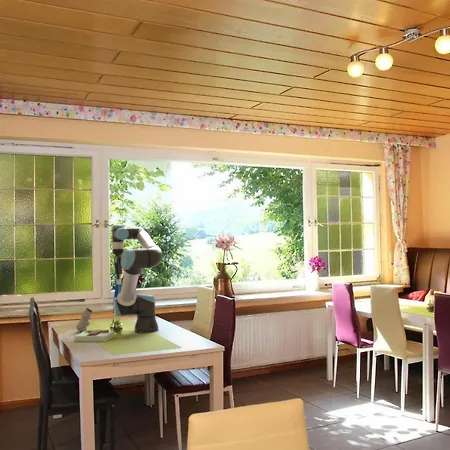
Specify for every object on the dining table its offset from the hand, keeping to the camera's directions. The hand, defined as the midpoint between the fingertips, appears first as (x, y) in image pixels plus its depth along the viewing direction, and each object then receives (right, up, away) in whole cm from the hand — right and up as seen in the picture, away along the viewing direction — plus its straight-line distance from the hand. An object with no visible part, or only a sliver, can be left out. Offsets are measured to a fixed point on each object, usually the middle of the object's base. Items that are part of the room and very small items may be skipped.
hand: (118, 284), depth 350 cm
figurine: (-20, -30, -10) cm, 37 cm away
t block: (-7, -29, -32) cm, 44 cm away
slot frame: (-8, -29, -34) cm, 45 cm away
